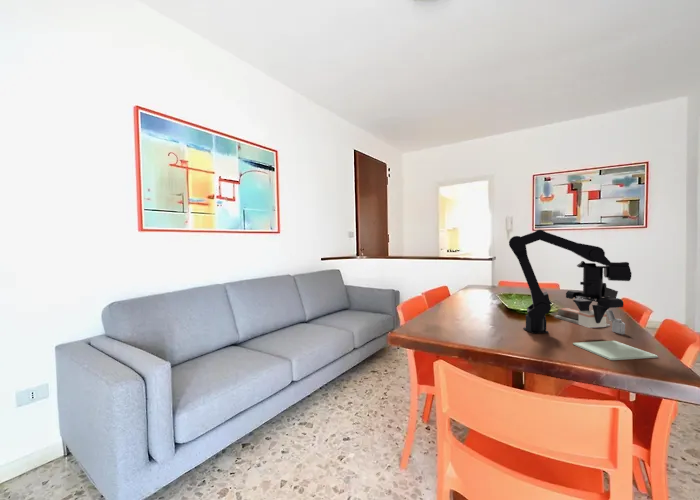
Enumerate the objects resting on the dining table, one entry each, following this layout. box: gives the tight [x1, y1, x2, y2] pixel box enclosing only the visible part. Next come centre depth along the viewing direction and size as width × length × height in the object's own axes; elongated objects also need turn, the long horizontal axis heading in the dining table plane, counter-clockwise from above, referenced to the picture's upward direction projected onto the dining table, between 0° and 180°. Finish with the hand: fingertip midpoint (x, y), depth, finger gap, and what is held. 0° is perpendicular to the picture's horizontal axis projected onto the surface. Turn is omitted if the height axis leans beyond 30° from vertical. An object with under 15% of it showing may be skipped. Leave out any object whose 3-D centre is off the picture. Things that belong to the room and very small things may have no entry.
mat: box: [572, 340, 659, 361], centre depth 101 cm, size 16×14×1 cm
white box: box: [577, 310, 608, 329], centre depth 115 cm, size 7×5×5 cm, turn 96°
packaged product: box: [554, 307, 611, 329], centre depth 136 cm, size 18×5×10 cm
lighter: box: [605, 309, 626, 335], centre depth 121 cm, size 7×2×8 cm, turn 1°
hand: (592, 321), depth 115 cm, fingers closed on white box, 4 cm apart
